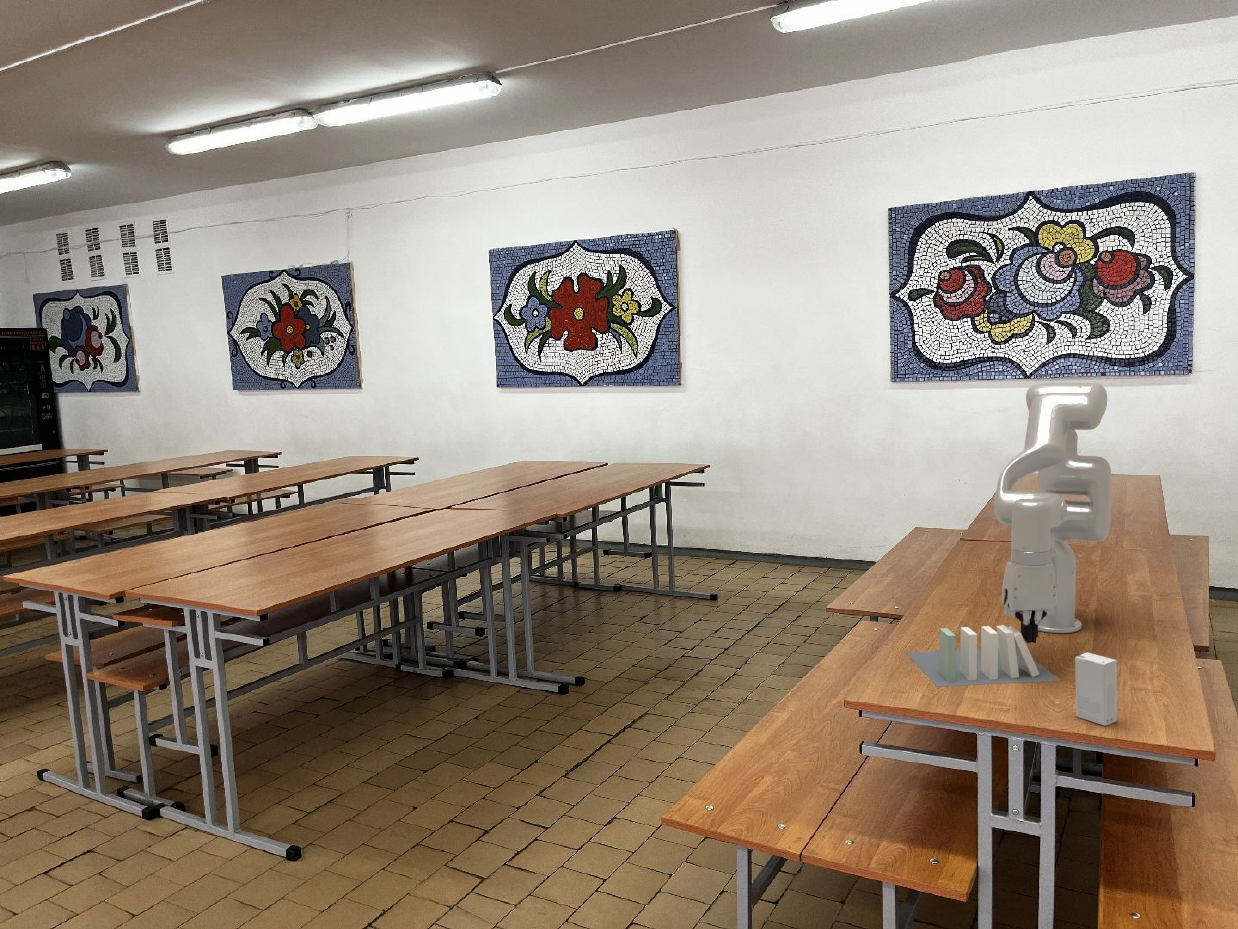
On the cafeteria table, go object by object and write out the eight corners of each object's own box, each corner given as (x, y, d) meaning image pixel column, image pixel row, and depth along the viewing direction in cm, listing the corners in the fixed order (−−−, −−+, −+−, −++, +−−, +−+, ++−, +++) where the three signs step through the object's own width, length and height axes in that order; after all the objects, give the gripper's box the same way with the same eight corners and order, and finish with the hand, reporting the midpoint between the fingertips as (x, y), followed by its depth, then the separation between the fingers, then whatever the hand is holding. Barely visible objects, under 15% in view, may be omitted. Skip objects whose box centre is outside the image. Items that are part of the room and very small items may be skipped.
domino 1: (967, 671, 203) (968, 627, 201) (976, 680, 198) (977, 634, 196) (960, 672, 203) (960, 627, 201) (969, 680, 198) (969, 634, 196)
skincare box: (1118, 721, 176) (1119, 659, 174) (1104, 727, 173) (1106, 664, 172) (1086, 711, 181) (1088, 650, 179) (1073, 717, 179) (1074, 656, 177)
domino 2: (988, 670, 203) (988, 626, 201) (997, 679, 198) (998, 633, 196) (981, 671, 203) (981, 626, 201) (990, 679, 198) (990, 633, 196)
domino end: (946, 672, 203) (947, 628, 201) (955, 681, 198) (955, 635, 196) (939, 673, 203) (939, 628, 201) (948, 681, 198) (948, 635, 196)
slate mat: (1017, 649, 216) (1017, 647, 216) (1060, 682, 195) (1060, 680, 195) (905, 654, 216) (905, 652, 216) (936, 688, 195) (936, 686, 195)
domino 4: (1029, 665, 203) (1011, 626, 201) (1039, 674, 198) (1021, 633, 196) (1022, 669, 203) (1004, 629, 202) (1032, 677, 198) (1014, 636, 197)
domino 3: (1009, 668, 203) (1003, 625, 201) (1019, 677, 198) (1013, 632, 196) (1001, 670, 203) (996, 626, 201) (1011, 678, 198) (1006, 633, 196)
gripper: (1057, 551, 201) (1055, 633, 203) (987, 554, 200) (987, 637, 203) (1074, 559, 193) (1072, 645, 196) (1002, 563, 193) (1001, 648, 195)
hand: (1029, 640), depth 199 cm, fingers closed
